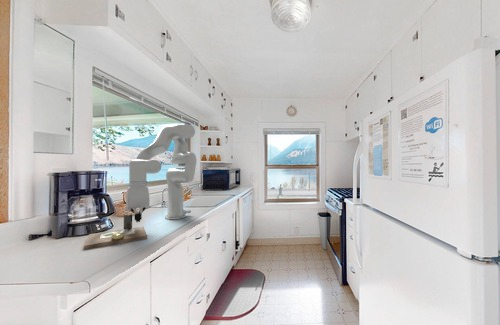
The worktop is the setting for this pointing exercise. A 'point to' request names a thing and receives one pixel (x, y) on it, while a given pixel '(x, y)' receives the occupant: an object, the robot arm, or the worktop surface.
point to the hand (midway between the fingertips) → (138, 221)
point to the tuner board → (106, 239)
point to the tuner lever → (126, 227)
